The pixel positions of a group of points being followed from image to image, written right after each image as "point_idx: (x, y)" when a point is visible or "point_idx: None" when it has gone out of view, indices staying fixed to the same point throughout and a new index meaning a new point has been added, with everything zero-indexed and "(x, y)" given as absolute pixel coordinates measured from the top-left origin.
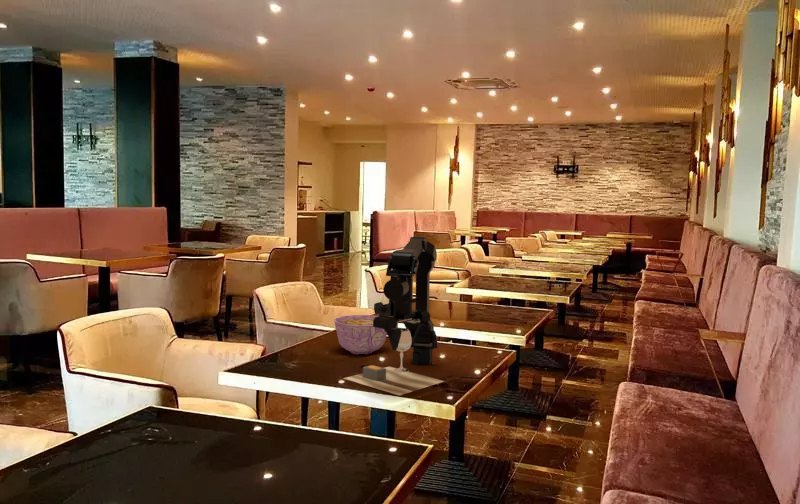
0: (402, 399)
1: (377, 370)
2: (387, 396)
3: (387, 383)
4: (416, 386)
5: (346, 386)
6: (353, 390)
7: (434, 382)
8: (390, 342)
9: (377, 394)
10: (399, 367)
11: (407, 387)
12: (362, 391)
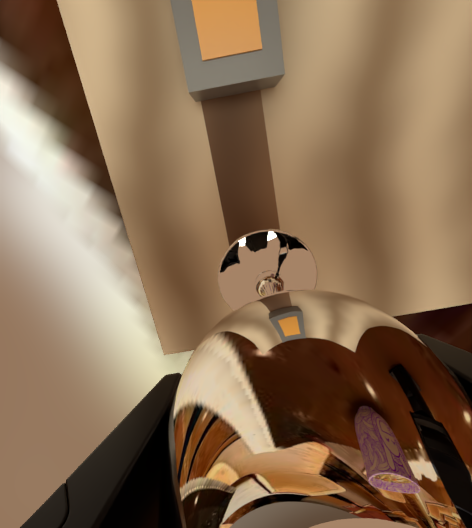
0: (174, 355)
1: (203, 76)
2: (140, 296)
3: (221, 179)
4: None
5: (20, 31)
6: (30, 128)
7: (424, 293)
8: (108, 440)
9: (114, 251)
10: (260, 276)
11: None
12: (68, 171)
